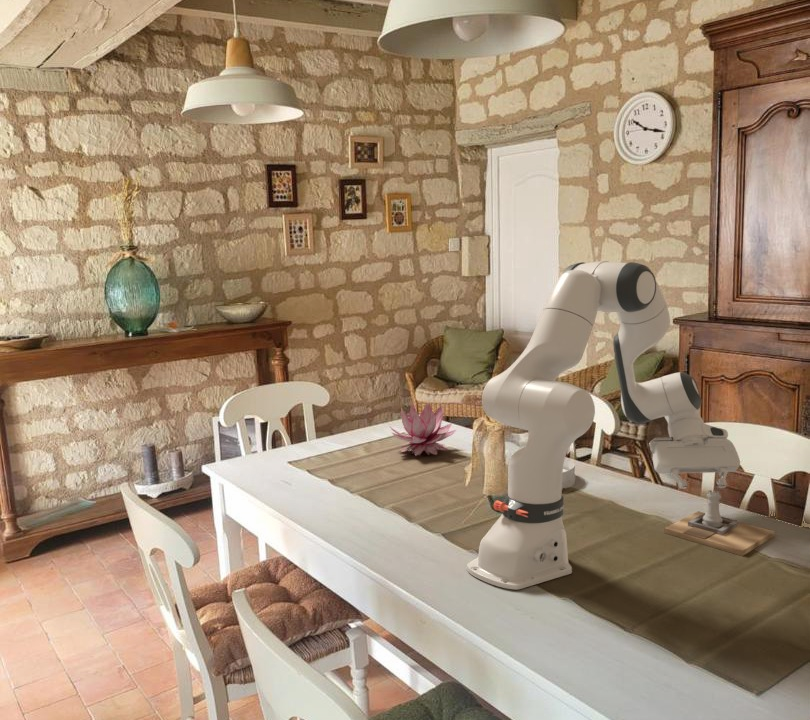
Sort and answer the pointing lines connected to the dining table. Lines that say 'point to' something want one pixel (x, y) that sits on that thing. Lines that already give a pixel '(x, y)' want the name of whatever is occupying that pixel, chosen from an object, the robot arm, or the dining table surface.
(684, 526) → the oak board
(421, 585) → the dining table surface
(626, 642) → the dining table surface
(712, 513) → the rook chess piece
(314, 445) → the dining table surface
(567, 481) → the dish
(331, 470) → the dining table surface
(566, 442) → the robot arm
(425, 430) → the decorative flower
